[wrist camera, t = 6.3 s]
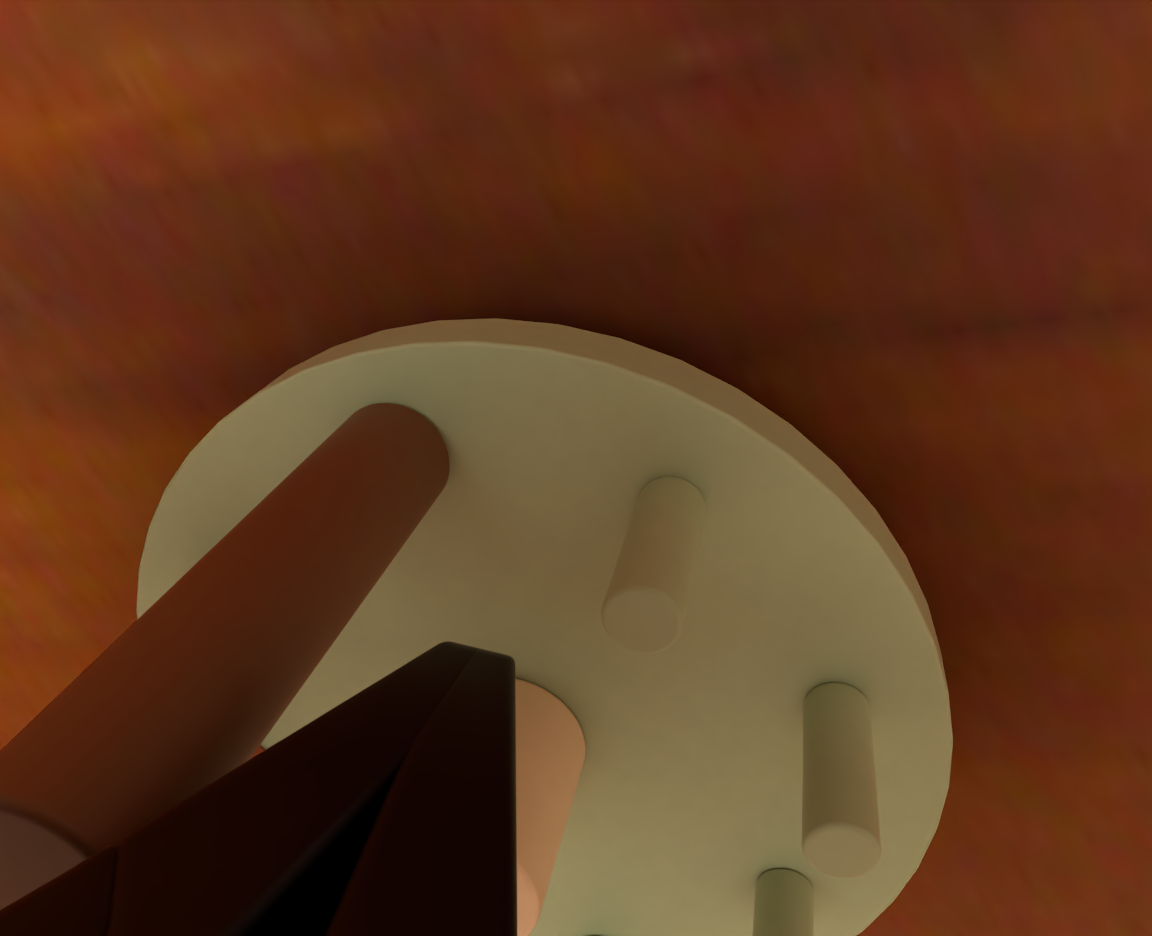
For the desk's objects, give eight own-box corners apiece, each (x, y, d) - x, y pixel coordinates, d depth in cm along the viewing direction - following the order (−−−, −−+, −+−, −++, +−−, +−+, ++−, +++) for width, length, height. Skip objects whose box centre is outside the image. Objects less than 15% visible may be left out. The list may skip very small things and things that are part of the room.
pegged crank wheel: (996, 956, 16) (1137, 1705, 9) (345, 960, 20) (99, 1478, 13) (860, 208, 11) (941, 595, 4) (36, 416, 15) (-612, 785, 8)
